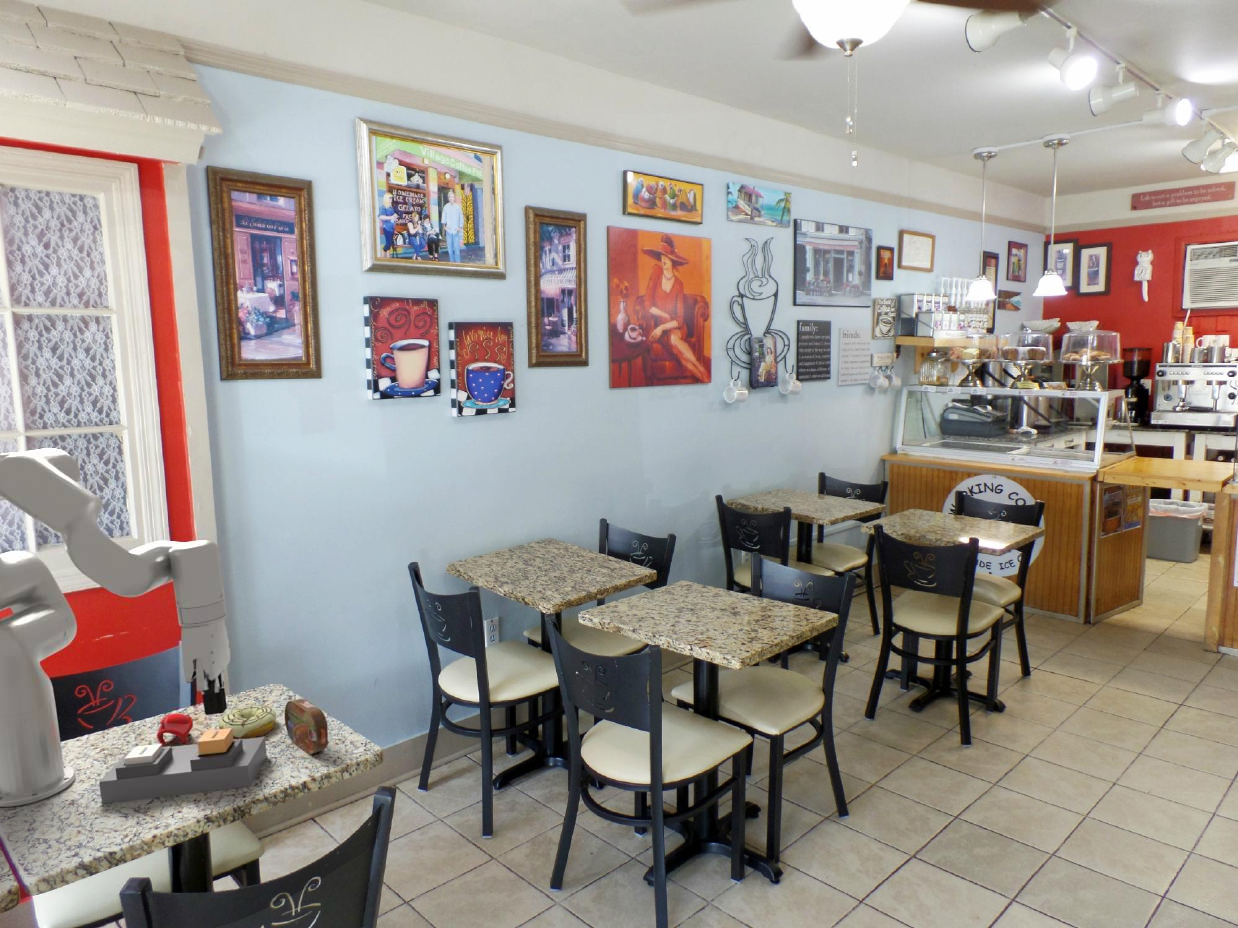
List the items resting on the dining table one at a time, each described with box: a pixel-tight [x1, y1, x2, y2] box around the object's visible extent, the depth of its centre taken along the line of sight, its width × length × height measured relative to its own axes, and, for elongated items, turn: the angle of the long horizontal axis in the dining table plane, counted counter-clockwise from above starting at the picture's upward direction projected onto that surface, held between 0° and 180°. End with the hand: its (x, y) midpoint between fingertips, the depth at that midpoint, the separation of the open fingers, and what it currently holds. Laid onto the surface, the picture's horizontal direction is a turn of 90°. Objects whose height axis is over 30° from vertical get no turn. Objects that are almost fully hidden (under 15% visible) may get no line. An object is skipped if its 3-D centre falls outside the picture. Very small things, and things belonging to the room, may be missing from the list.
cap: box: [156, 712, 194, 747], centre depth 160 cm, size 8×6×6 cm
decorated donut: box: [218, 704, 277, 740], centre depth 164 cm, size 10×11×4 cm
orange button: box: [197, 728, 234, 755], centre depth 143 cm, size 4×4×2 cm
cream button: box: [124, 743, 163, 765], centre depth 141 cm, size 4×4×2 cm
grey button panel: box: [98, 736, 268, 805], centre depth 144 cm, size 24×11×6 cm, turn 99°
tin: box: [284, 698, 329, 755], centre depth 156 cm, size 15×3×8 cm, turn 44°
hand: (216, 711), depth 142 cm, fingers closed
